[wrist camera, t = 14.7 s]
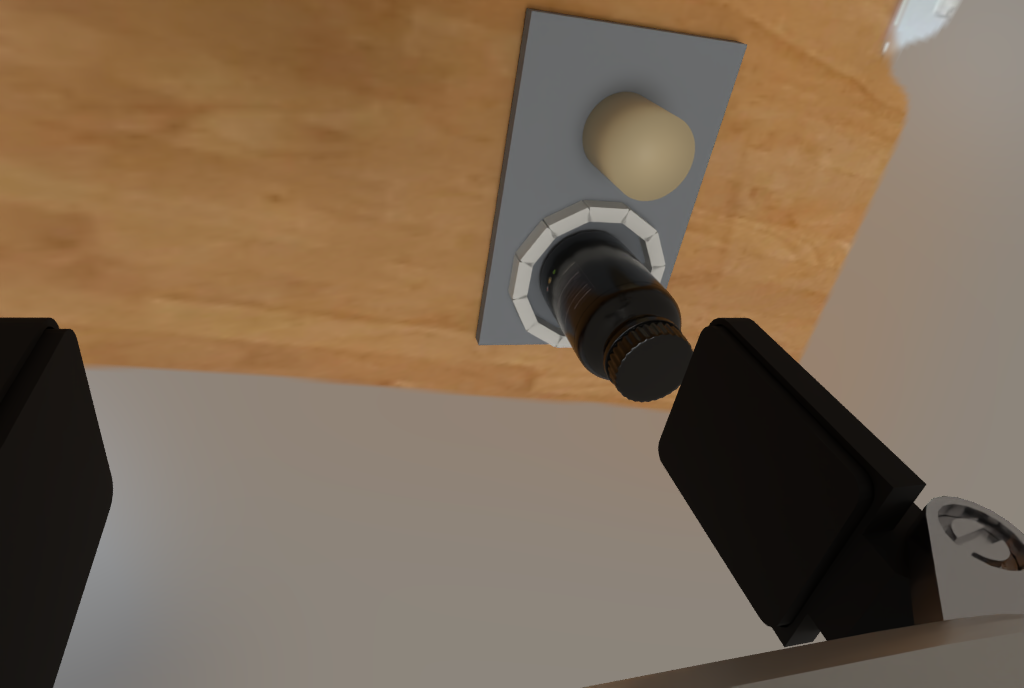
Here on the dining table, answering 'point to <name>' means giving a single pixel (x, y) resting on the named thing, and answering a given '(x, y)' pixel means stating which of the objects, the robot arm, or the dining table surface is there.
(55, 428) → the robot arm
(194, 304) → the dining table surface
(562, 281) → the supplement bottle
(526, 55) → the board
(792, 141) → the dining table surface
